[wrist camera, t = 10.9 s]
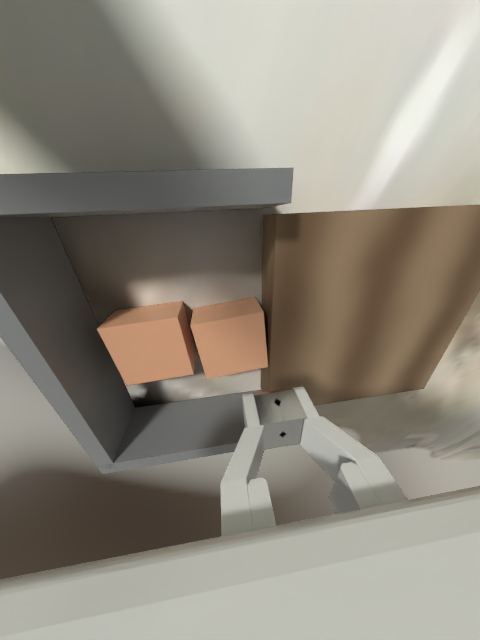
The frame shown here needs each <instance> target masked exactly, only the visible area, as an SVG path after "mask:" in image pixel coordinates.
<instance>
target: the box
mask: <svg viewBox="0 0 480 640" xmlns="http://www.w3.org/2000/svg"><path fill="white" fill-rule="evenodd" d="M292 181H293V168H261V169H216V170H171V171H126V172H81V173H36V174H0V337H1V339H2V340H3V341H4V343H5V344H6V345H7V347H8V348H9V349H10V351H11V352H12V353H13V355H14V356H15V357H16V359H17V360H18V361H19V362H20V364H21V365H22V367H23V368H24V369H25V371H26V372H27V373H28V375H29V376H30V377H31V379H32V380H33V381H34V383H35V384H36V385H37V387H38V388H39V389H40V391H41V392H42V393H43V395H44V396H45V397H46V399H47V400H48V402H49V403H50V404H51V405H52V407H53V408H54V410H55V411H56V412H57V414H58V415H59V416H60V418H61V419H62V420H63V422H64V423H65V424H66V425H67V427H68V428H69V430H70V431H71V432H72V434H73V435H74V436H75V438H76V439H77V440H78V441H79V443H80V444H81V446H82V447H83V448H84V450H85V451H86V452H87V453H88V455H89V456H90V458H91V459H92V460H93V462H94V463H95V464H96V466H97V467H98V468H99V470H100V471H101V472H102V474H105V473H111V472H117V471H123V470H129V469H135V468H141V467H147V466H152V465H158V464H164V463H170V462H175V461H182V460H187V459H193V458H199V457H205V456H211V455H217V454H223V453H229V452H234V451H235V449H236V446H237V444H238V442H239V439H240V437H241V435H242V433H243V430H244V428H245V423H244V414H243V400H242V395H243V394H251V393H259V392H261V390H258V391H250V392H243V393H236V394H229V395H222V396H215V397H208V398H200V399H193V400H186V401H179V402H172V403H165V404H158V405H150V406H143V407H136V408H135V406H134V404H133V402H132V399H131V397H130V395H129V393H128V391H127V388H126V386H125V384H124V381H123V379H122V377H121V375H120V372H119V370H118V368H117V367H116V365H115V363H114V361H113V359H112V357H111V355H110V353H109V351H108V349H107V348H106V346H105V344H104V342H103V340H102V338H101V336H100V334H99V332H98V330H97V328H98V327H99V325H98V323H97V321H96V319H95V316H94V314H93V312H92V310H91V307H90V305H89V303H88V301H87V298H86V296H85V294H84V292H83V289H82V287H81V285H80V283H79V280H78V278H77V276H76V274H75V271H74V269H73V267H72V265H71V263H70V260H69V258H68V256H67V254H66V251H65V249H64V247H63V245H62V242H61V240H60V238H59V236H58V233H57V231H56V229H55V227H54V224H53V222H52V220H51V218H50V217H69V216H92V215H115V214H138V213H162V212H185V211H208V210H231V209H254V208H266V207H271V206H277V205H282V204H287V203H291V196H292Z"/></svg>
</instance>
